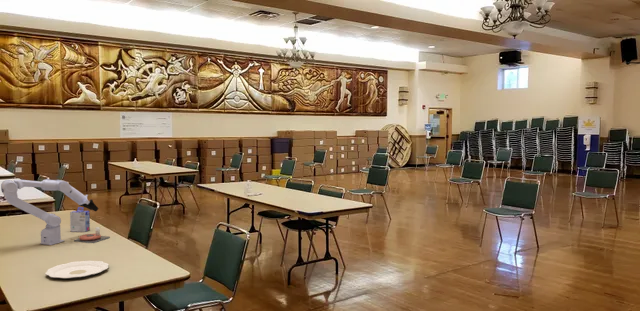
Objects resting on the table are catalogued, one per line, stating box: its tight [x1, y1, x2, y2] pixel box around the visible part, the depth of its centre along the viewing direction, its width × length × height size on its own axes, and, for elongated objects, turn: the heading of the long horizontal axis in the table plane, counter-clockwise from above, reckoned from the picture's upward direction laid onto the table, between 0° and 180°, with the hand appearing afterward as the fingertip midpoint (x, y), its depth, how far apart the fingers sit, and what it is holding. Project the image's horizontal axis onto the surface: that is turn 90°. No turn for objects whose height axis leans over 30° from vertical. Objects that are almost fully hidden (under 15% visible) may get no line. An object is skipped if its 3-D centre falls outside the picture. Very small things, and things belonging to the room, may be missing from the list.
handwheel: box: [78, 226, 102, 240], centre depth 273 cm, size 11×11×6 cm
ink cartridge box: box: [69, 206, 91, 233], centre depth 295 cm, size 10×6×14 cm, turn 89°
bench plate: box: [73, 235, 111, 244], centre depth 274 cm, size 13×13×1 cm
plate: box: [44, 260, 110, 280], centre depth 214 cm, size 25×25×2 cm
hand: (95, 209), depth 280 cm, fingers open, 7 cm apart
